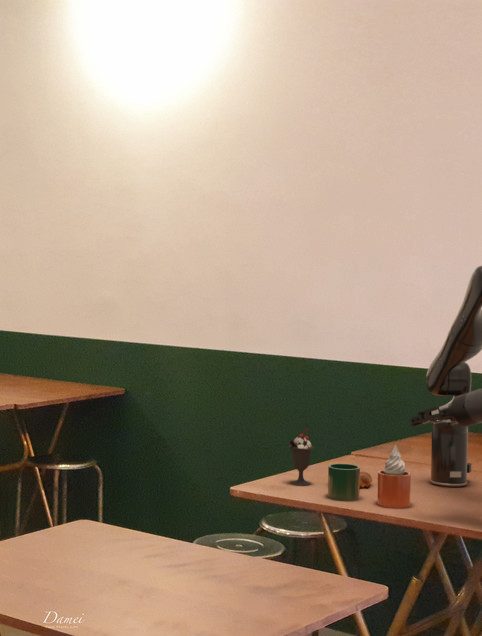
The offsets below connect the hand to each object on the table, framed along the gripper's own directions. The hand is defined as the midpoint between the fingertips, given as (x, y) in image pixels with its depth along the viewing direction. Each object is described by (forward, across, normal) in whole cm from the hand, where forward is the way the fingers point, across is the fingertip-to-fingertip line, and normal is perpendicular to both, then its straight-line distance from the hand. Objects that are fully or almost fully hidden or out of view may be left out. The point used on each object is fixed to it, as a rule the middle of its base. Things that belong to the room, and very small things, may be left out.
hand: (423, 423), depth 266 cm
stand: (+26, +5, +14) cm, 30 cm away
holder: (+15, 0, +17) cm, 23 cm away
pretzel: (+34, -7, +9) cm, 36 cm away
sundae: (+43, +3, +7) cm, 43 cm away
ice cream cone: (+15, 0, +17) cm, 23 cm away
